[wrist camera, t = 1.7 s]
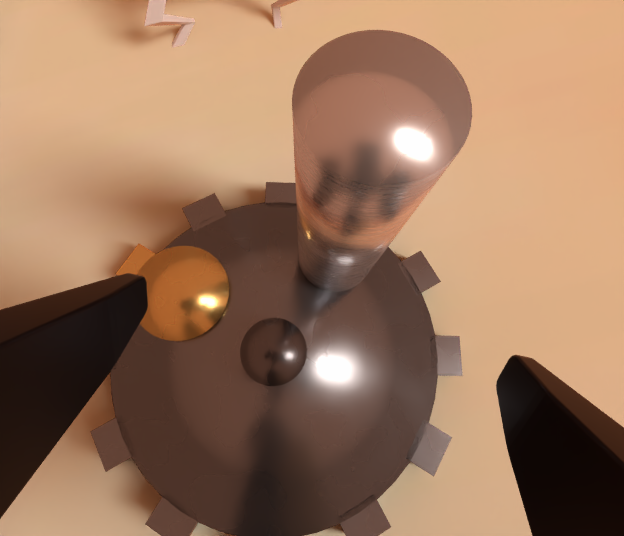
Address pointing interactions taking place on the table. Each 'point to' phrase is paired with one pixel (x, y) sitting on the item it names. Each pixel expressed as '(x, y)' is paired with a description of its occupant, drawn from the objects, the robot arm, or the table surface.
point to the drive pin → (369, 146)
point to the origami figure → (192, 19)
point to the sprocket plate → (291, 424)
